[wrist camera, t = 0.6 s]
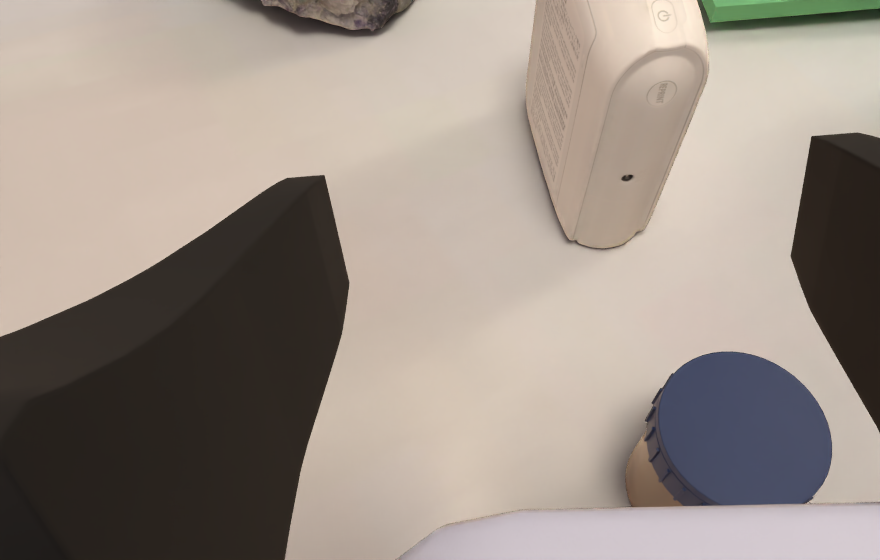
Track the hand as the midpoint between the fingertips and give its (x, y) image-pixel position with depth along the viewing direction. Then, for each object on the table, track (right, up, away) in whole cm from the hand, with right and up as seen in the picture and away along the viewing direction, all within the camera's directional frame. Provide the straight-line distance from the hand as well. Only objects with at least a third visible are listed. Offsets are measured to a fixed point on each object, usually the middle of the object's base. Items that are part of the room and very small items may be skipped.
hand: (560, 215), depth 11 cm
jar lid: (+7, -6, +11) cm, 15 cm away
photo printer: (+5, +4, +25) cm, 26 cm away
